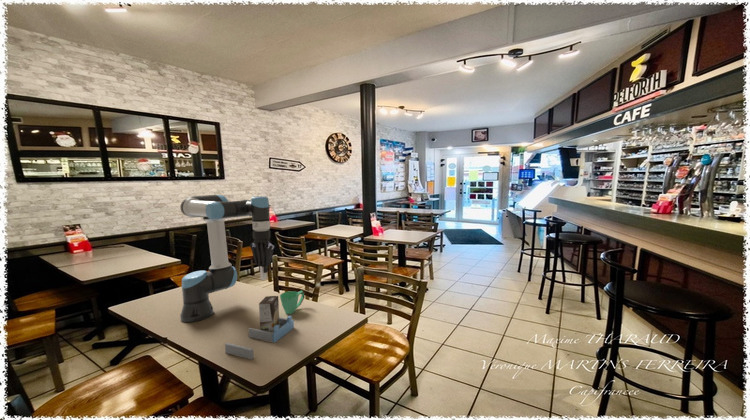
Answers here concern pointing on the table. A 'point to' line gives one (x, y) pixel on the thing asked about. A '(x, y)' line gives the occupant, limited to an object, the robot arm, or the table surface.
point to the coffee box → (269, 313)
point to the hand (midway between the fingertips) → (263, 279)
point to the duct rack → (261, 338)
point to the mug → (291, 301)
